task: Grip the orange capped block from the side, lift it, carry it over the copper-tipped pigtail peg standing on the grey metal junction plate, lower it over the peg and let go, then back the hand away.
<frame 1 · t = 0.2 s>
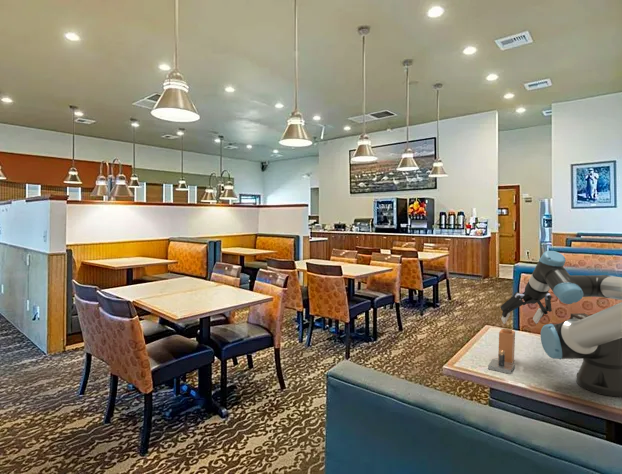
hand: (519, 321, 159), 15 cm above the table, tool tilted 35°, fingers open, 13 cm apart
coffee box: (582, 352, 165), on the table
orange capped block: (506, 360, 156), on the table
junction plate: (501, 368, 148), on the table
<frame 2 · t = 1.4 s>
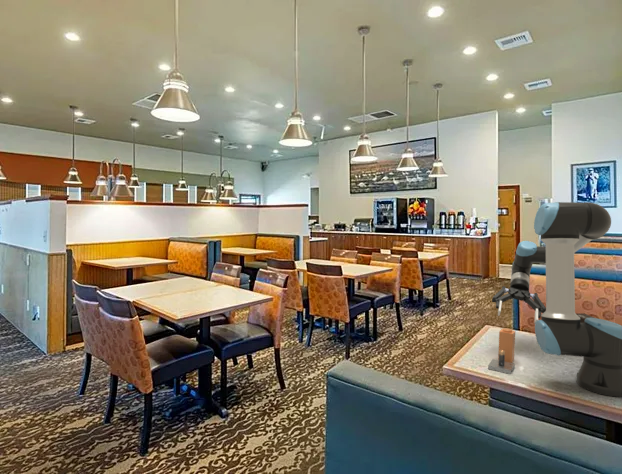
hand: (517, 317, 155), 18 cm above the table, tool tilted 60°, fingers open, 13 cm apart
nothing on the table moved.
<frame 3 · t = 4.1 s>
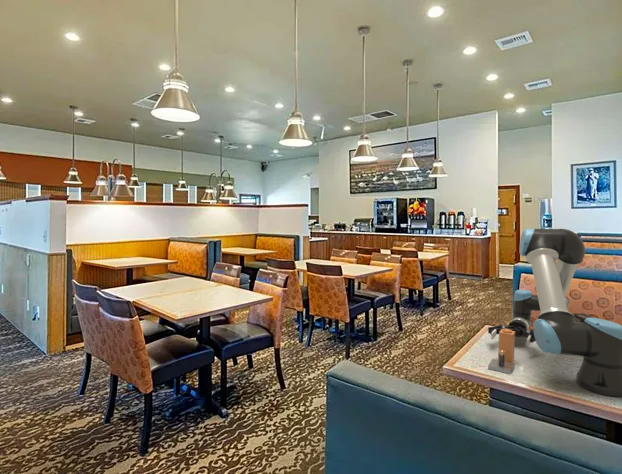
hand: (509, 339, 161), 7 cm above the table, tool horizontal, fingers open, 13 cm apart
nothing on the table moved.
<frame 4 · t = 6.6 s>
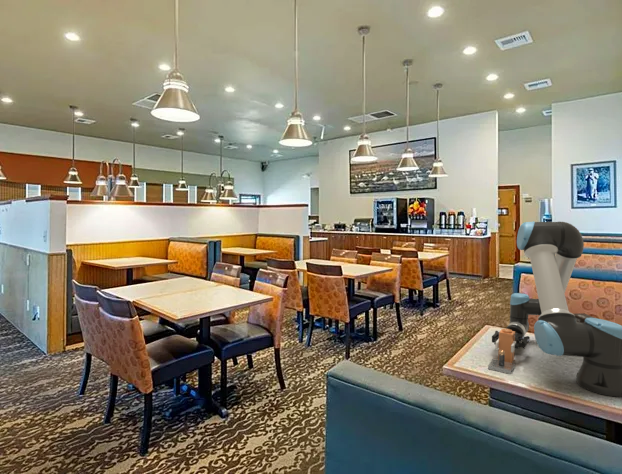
hand: (504, 347, 151), 7 cm above the table, tool horizontal, fingers closed on orange capped block, 5 cm apart
orange capped block: (506, 360, 156), on the table, touching gripper
everything else where it was.
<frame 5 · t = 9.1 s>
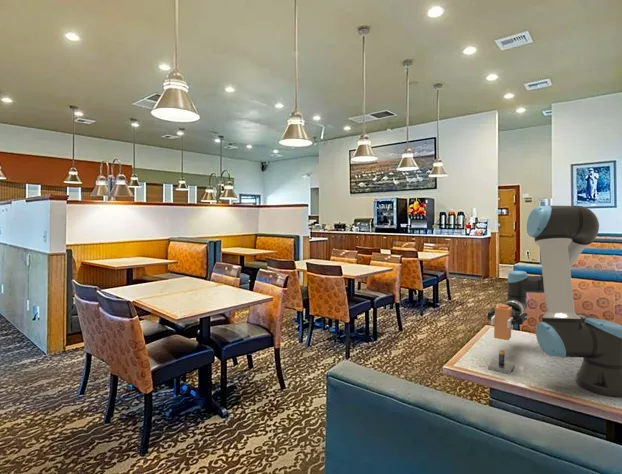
hand: (500, 323, 143), 19 cm above the table, tool horizontal, fingers closed on orange capped block, 5 cm apart
orange capped block: (502, 337, 148), point 12 cm above the table, touching gripper
everything else where it was.
when the fingers open (10 cm above the table, at t = 11.7 s): orange capped block drops 1 cm, resting on junction plate.
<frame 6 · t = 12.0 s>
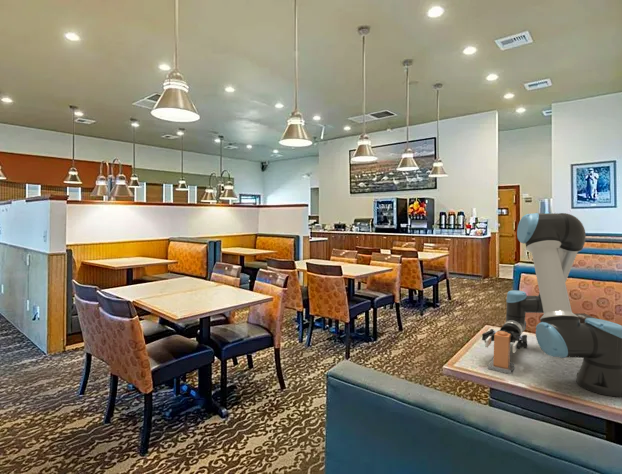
hand: (499, 346, 144), 10 cm above the table, tool horizontal, fingers open, 9 cm apart
orange capped block: (501, 364, 148), point 1 cm above the table, touching junction plate
everything else where it was.
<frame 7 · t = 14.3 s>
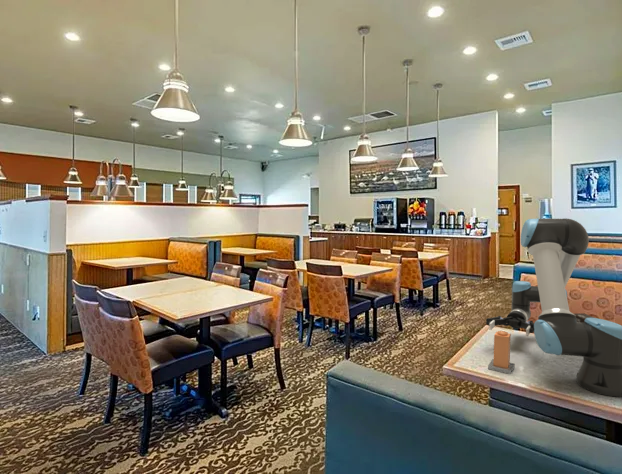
hand: (508, 329, 156), 13 cm above the table, tool horizontal, fingers open, 13 cm apart
nothing on the table moved.
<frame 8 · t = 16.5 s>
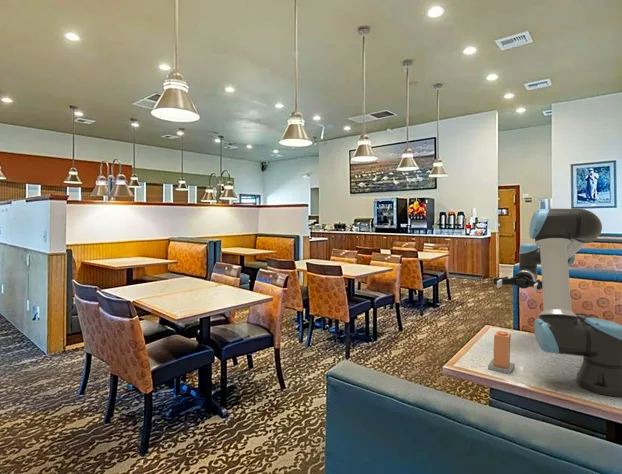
hand: (515, 286, 157), 30 cm above the table, tool horizontal, fingers open, 13 cm apart
nothing on the table moved.
at the end: orange capped block 0.0 cm off-centre on the junction plate, point 1.5 cm above the junction plate's base; orange capped block tilted 0°; the gripper is holding nothing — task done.
